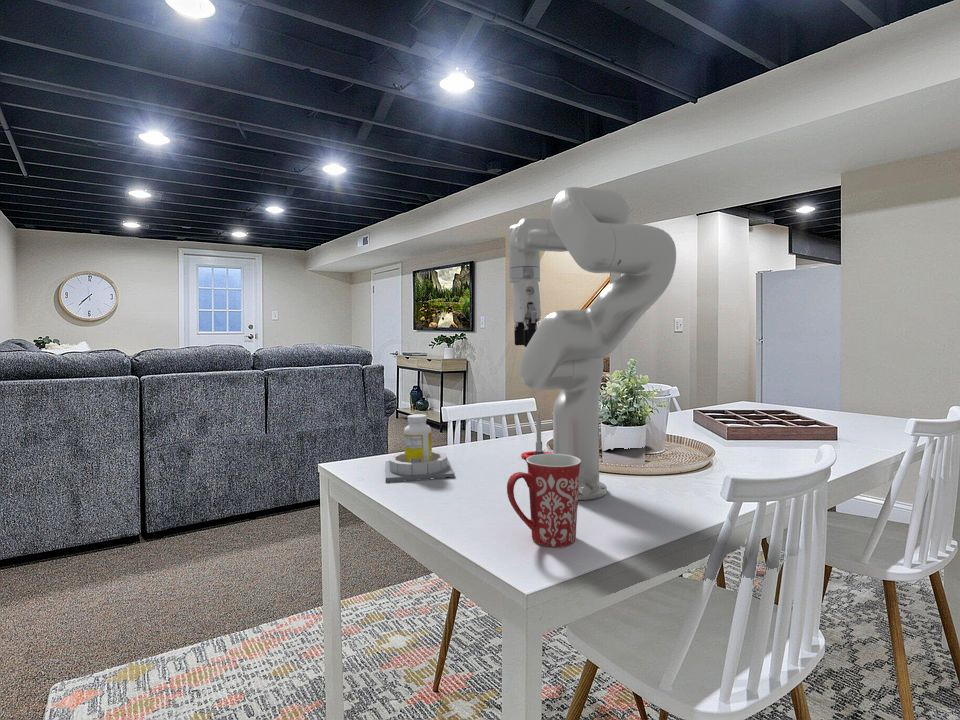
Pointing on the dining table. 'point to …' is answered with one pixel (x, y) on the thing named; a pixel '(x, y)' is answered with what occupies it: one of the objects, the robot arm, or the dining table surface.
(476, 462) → the dining table surface
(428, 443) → the supplement bottle
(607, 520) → the dining table surface
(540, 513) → the mug
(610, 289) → the robot arm
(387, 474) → the ring block
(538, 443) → the tow hook
